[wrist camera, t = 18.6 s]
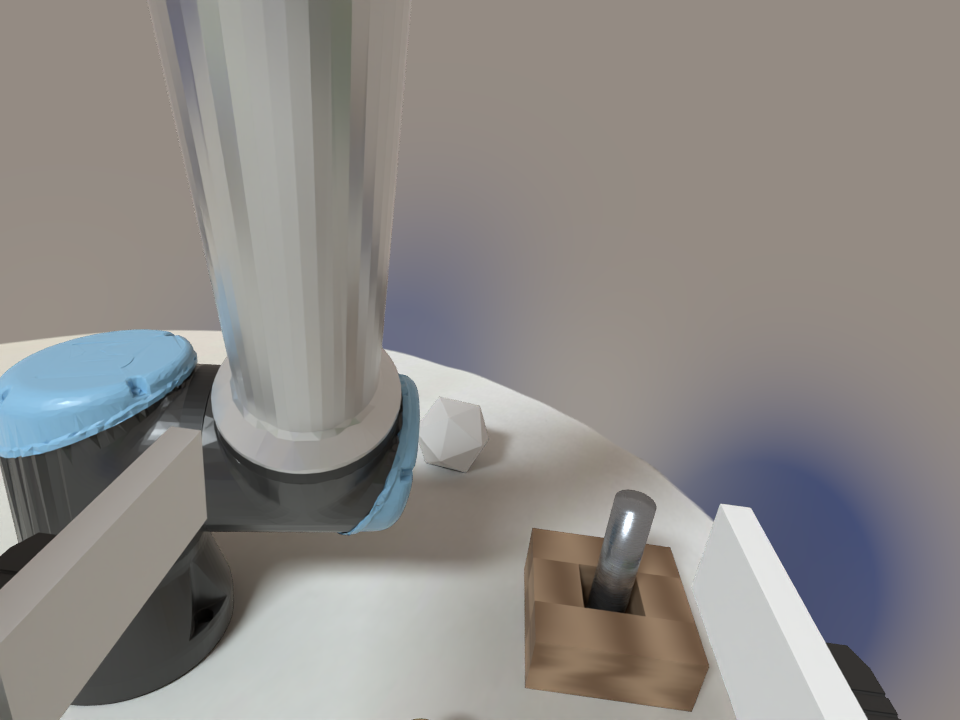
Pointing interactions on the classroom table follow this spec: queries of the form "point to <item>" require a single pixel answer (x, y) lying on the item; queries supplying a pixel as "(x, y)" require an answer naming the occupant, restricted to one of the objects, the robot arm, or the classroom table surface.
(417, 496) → the classroom table surface
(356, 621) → the classroom table surface
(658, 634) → the hole block
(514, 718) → the classroom table surface
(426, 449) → the die
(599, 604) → the long metal pin
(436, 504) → the classroom table surface
